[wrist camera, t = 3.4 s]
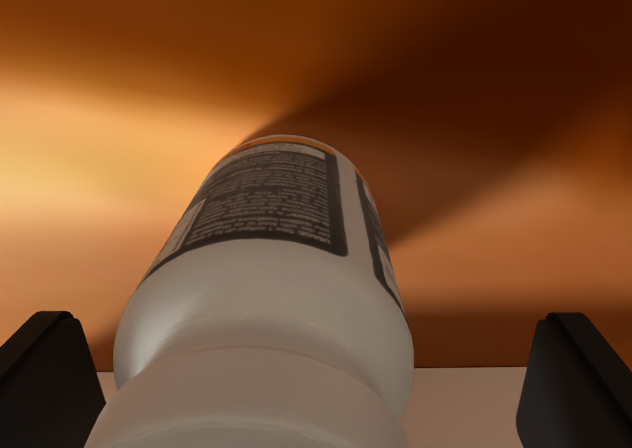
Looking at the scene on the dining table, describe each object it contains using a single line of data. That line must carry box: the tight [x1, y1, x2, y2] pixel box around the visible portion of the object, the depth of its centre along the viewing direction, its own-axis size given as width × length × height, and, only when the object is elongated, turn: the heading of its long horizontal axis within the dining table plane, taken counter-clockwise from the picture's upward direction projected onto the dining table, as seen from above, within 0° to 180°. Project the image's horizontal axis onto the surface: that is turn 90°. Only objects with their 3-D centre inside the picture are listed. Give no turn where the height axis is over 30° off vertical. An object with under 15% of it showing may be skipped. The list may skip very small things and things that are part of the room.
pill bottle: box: [84, 134, 414, 448], centre depth 10 cm, size 6×6×10 cm
